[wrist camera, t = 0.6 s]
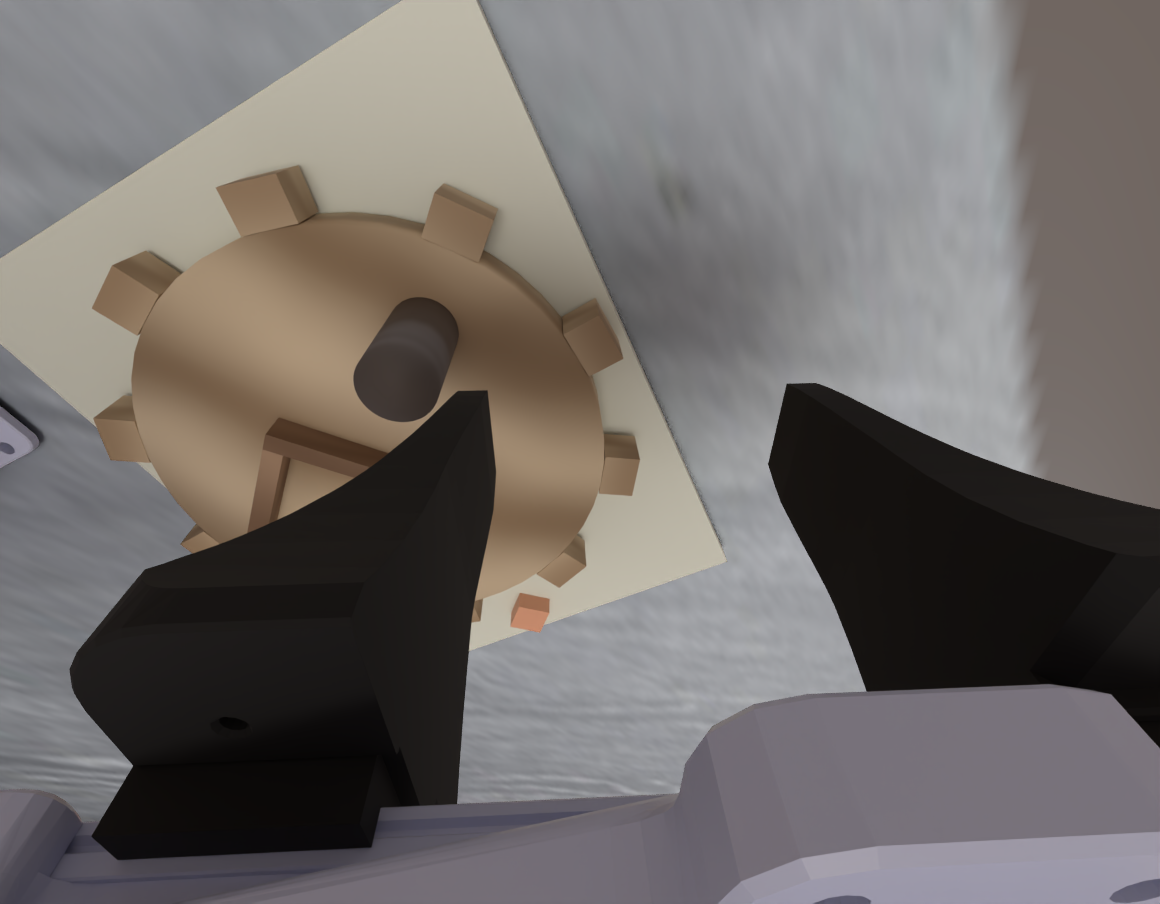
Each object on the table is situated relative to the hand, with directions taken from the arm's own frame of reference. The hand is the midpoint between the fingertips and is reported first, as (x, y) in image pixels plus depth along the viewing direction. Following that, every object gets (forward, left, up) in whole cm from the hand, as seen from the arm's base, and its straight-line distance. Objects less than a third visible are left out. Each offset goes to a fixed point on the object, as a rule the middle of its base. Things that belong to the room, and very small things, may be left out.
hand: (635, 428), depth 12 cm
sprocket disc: (-9, -1, -7) cm, 11 cm away
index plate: (-9, -2, -8) cm, 12 cm away
